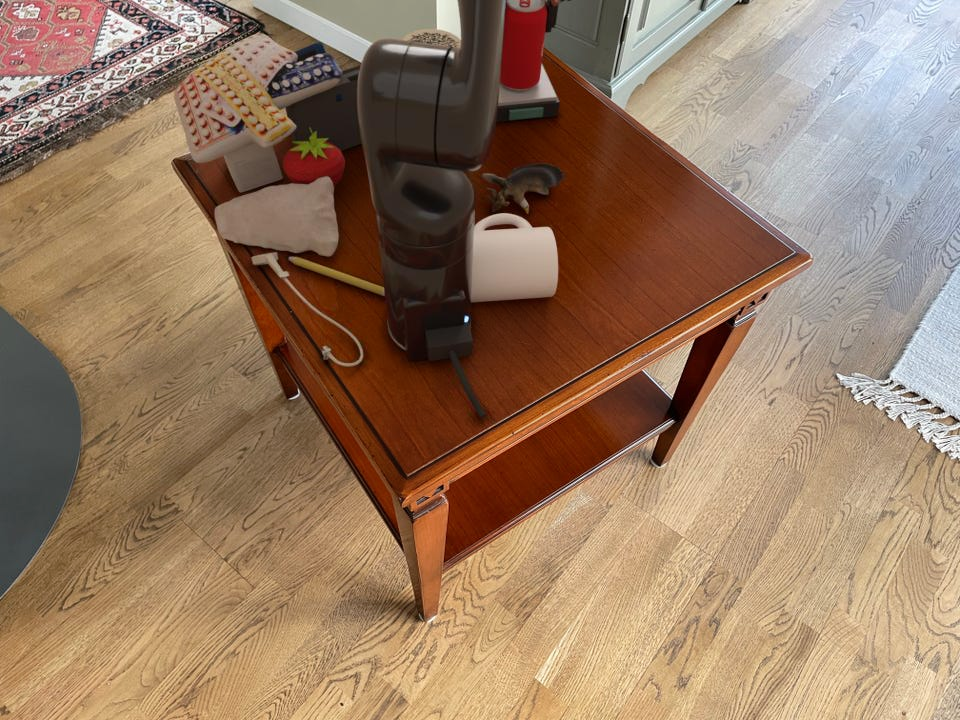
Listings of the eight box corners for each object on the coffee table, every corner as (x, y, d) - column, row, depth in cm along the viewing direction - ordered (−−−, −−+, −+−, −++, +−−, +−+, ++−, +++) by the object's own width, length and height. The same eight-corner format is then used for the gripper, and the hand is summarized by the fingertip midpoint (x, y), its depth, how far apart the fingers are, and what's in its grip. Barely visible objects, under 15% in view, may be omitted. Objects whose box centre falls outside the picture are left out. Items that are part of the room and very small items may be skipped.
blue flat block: (344, 100, 90) (338, 102, 90) (311, 106, 102) (307, 108, 101) (322, 40, 87) (316, 42, 87) (291, 53, 99) (286, 55, 98)
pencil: (287, 256, 85) (285, 250, 84) (391, 293, 82) (390, 287, 82) (282, 262, 85) (281, 256, 84) (387, 299, 82) (386, 293, 81)
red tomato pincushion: (290, 184, 92) (274, 119, 84) (347, 179, 93) (338, 113, 85) (291, 215, 89) (276, 151, 81) (351, 209, 90) (342, 145, 82)
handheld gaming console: (437, 102, 104) (436, 38, 95) (447, 112, 102) (447, 48, 94) (294, 155, 96) (279, 89, 87) (302, 166, 94) (289, 100, 86)
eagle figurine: (520, 231, 87) (574, 192, 89) (496, 181, 84) (552, 141, 86) (491, 224, 94) (541, 188, 96) (467, 177, 90) (520, 140, 92)
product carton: (284, 179, 93) (270, 133, 87) (239, 194, 91) (222, 148, 85) (270, 152, 96) (255, 105, 90) (226, 165, 94) (208, 119, 88)
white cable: (364, 376, 79) (289, 251, 87) (370, 358, 76) (292, 231, 84) (321, 391, 76) (246, 260, 84) (325, 373, 74) (248, 240, 81)
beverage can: (540, 71, 104) (550, -11, 95) (538, 96, 101) (548, 14, 91) (498, 67, 104) (503, -15, 95) (494, 92, 101) (499, 9, 91)
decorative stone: (339, 181, 87) (219, 188, 87) (332, 171, 83) (205, 179, 83) (344, 259, 87) (223, 266, 87) (336, 254, 83) (209, 261, 83)
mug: (552, 310, 82) (562, 263, 75) (467, 317, 81) (469, 269, 74) (535, 237, 89) (542, 188, 82) (456, 242, 88) (457, 192, 81)
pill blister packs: (361, 90, 88) (279, 31, 92) (352, 56, 83) (265, -5, 86) (236, 202, 83) (154, 134, 86) (218, 173, 78) (131, 102, 81)
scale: (558, 118, 103) (561, 100, 100) (492, 125, 101) (493, 106, 99) (540, 76, 109) (542, 58, 106) (477, 82, 107) (477, 64, 105)
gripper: (482, -88, 80) (476, 51, 93) (603, -94, 82) (580, 42, 95) (468, -116, 84) (465, 20, 97) (584, -122, 86) (565, 13, 100)
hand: (522, 31), depth 96 cm, fingers closed on beverage can, 6 cm apart
